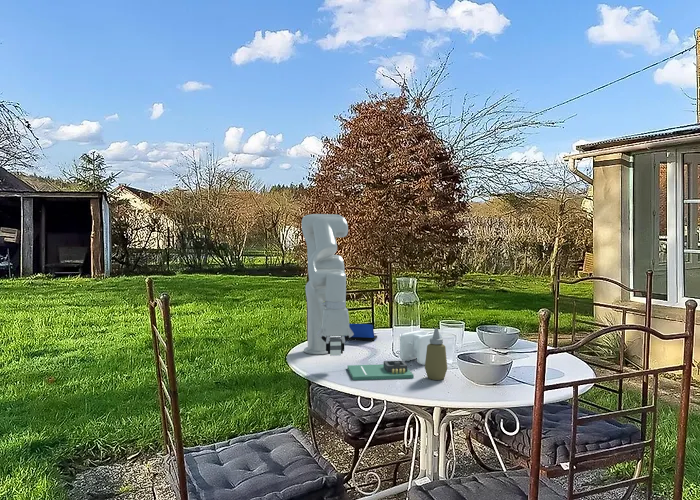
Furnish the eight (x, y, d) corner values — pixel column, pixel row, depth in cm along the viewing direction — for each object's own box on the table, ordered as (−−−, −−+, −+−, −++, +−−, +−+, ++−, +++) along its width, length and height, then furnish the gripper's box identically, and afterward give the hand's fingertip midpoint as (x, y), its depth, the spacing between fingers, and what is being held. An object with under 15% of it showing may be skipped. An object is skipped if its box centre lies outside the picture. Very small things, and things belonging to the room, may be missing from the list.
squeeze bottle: (442, 382, 189) (442, 331, 188) (421, 379, 193) (421, 329, 192) (450, 377, 195) (451, 328, 195) (430, 374, 200) (430, 325, 199)
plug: (328, 352, 205) (329, 337, 205) (339, 352, 206) (340, 336, 205) (330, 355, 201) (330, 339, 200) (341, 355, 201) (341, 339, 201)
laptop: (377, 338, 266) (377, 319, 266) (372, 343, 253) (372, 324, 253) (347, 336, 269) (347, 318, 269) (340, 342, 256) (340, 322, 256)
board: (347, 368, 207) (347, 356, 207) (403, 366, 210) (403, 355, 210) (353, 380, 191) (353, 367, 191) (413, 378, 194) (413, 365, 194)
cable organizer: (418, 367, 210) (418, 337, 210) (398, 362, 218) (398, 333, 217) (442, 360, 220) (442, 332, 220) (422, 356, 228) (422, 328, 227)
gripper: (313, 307, 197) (313, 356, 198) (359, 306, 199) (358, 355, 201) (312, 303, 204) (312, 350, 206) (356, 303, 206) (355, 349, 208)
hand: (335, 352), depth 203 cm, fingers closed on plug, 4 cm apart
